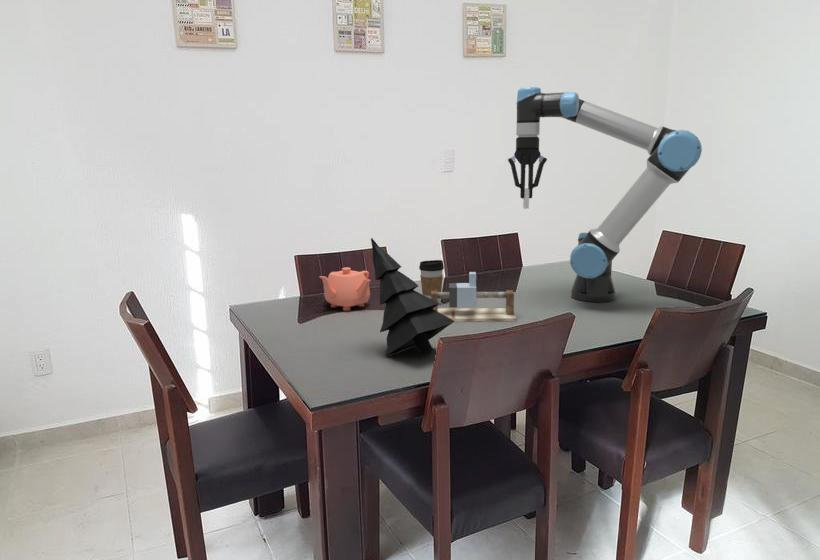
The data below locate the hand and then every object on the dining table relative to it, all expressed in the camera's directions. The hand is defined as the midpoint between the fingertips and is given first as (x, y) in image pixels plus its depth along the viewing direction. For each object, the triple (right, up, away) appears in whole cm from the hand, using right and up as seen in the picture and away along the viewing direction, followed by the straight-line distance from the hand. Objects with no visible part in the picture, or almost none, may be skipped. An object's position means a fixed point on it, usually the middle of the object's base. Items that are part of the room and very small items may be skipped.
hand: (526, 208), depth 211 cm
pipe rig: (-19, -36, -11) cm, 42 cm away
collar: (-25, -32, -11) cm, 43 cm away
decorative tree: (-41, -44, -42) cm, 73 cm away
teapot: (-61, -34, +3) cm, 70 cm away
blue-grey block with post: (-21, -32, -11) cm, 40 cm away
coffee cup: (-32, -33, +6) cm, 46 cm away
